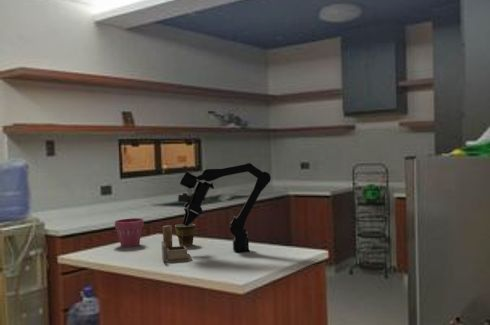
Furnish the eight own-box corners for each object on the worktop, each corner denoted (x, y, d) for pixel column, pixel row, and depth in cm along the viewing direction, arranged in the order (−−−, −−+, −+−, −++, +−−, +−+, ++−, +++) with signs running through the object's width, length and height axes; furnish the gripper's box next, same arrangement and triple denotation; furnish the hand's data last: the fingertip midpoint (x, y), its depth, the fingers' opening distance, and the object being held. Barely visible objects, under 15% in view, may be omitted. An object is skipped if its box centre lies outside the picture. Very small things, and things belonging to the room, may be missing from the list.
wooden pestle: (172, 253, 220) (171, 225, 219) (173, 255, 216) (172, 226, 215) (163, 254, 219) (162, 225, 218) (164, 256, 215) (163, 227, 215)
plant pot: (110, 245, 244) (109, 220, 244) (135, 241, 254) (134, 217, 253) (124, 249, 234) (123, 222, 233) (149, 244, 243) (148, 219, 243)
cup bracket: (189, 255, 215) (188, 239, 215) (192, 260, 204) (191, 244, 203) (162, 257, 213) (161, 241, 212) (163, 263, 201) (163, 246, 201)
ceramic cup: (185, 242, 246) (184, 223, 246) (200, 244, 240) (199, 224, 240) (167, 247, 235) (166, 226, 235) (182, 249, 230) (181, 228, 229)
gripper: (181, 186, 227) (167, 216, 225) (186, 186, 209) (170, 218, 207) (202, 196, 229) (188, 226, 227) (209, 197, 211) (193, 229, 209)
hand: (184, 225), depth 217 cm, fingers open, 9 cm apart
